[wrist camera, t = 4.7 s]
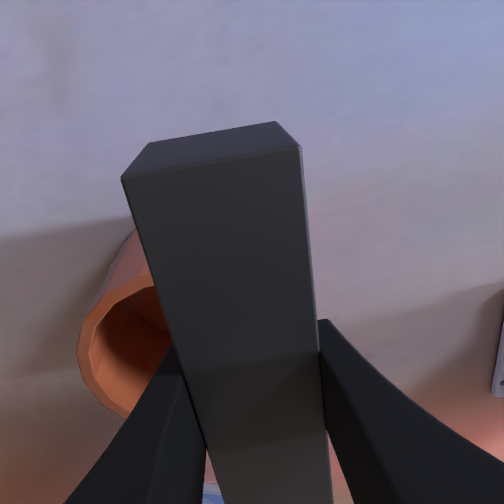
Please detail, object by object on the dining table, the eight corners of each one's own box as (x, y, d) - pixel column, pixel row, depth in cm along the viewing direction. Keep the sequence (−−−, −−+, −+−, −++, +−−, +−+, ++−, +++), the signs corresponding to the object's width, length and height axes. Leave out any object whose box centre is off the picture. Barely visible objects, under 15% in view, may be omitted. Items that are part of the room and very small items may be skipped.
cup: (279, 323, 23) (300, 413, 17) (142, 348, 23) (116, 447, 17) (258, 192, 19) (276, 251, 13) (93, 222, 19) (39, 294, 13)
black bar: (314, 441, 15) (336, 526, 12) (232, 456, 15) (236, 544, 12) (277, 120, 9) (302, 144, 6) (146, 142, 9) (118, 176, 6)
